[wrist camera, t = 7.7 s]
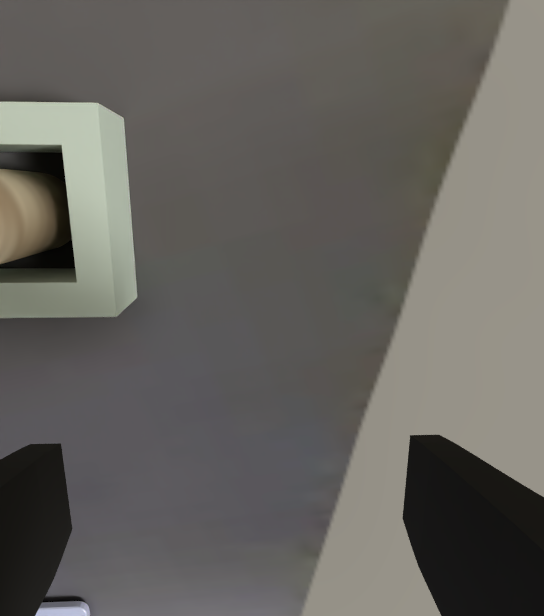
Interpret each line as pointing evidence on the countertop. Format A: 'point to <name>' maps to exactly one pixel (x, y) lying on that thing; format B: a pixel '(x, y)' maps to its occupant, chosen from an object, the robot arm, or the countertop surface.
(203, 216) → the countertop surface
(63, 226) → the beech peg
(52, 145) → the hole block
